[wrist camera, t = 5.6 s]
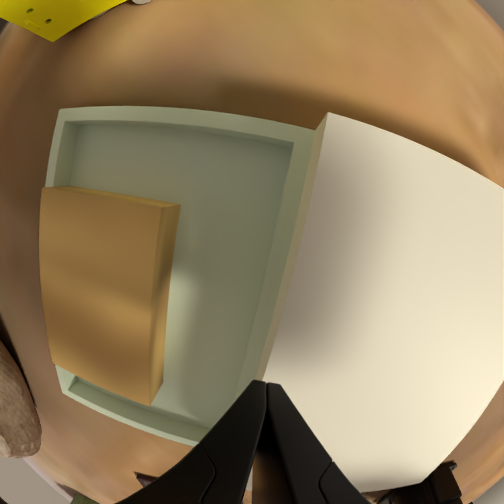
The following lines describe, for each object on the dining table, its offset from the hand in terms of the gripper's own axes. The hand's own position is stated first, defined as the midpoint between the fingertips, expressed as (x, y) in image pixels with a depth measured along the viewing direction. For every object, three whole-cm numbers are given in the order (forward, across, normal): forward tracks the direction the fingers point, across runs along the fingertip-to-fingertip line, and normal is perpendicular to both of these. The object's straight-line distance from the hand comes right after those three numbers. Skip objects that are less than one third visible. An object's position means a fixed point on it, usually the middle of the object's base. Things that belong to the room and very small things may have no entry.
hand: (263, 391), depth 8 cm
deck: (+4, -6, 0) cm, 8 cm away
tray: (+4, +6, 0) cm, 7 cm away
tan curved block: (+2, +7, 0) cm, 8 cm away
